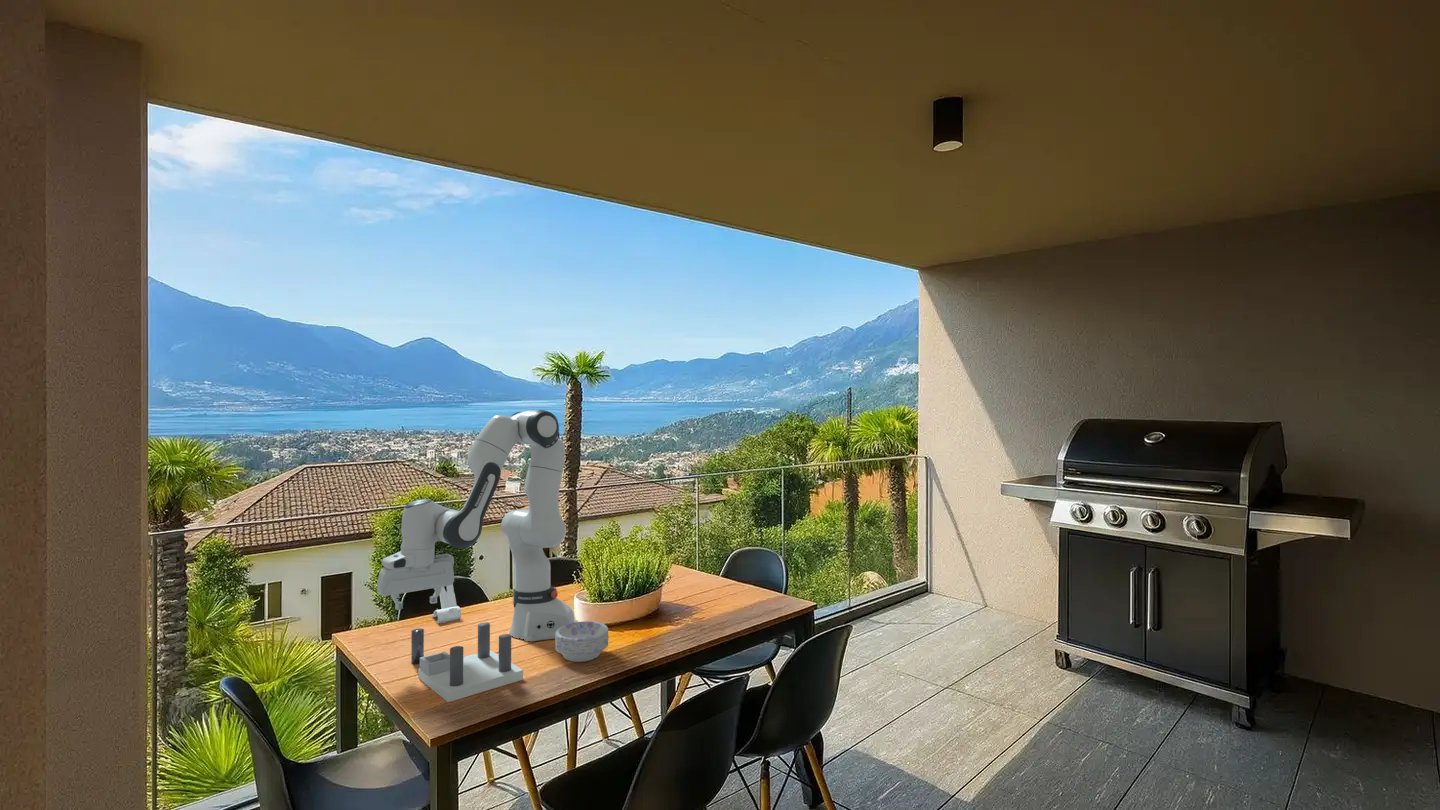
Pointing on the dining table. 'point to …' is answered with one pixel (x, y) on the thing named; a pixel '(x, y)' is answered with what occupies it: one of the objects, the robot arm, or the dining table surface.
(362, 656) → the dining table surface
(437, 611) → the plastic part
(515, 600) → the robot arm
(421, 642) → the stool leg
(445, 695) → the stool seat
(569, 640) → the paper bowls
